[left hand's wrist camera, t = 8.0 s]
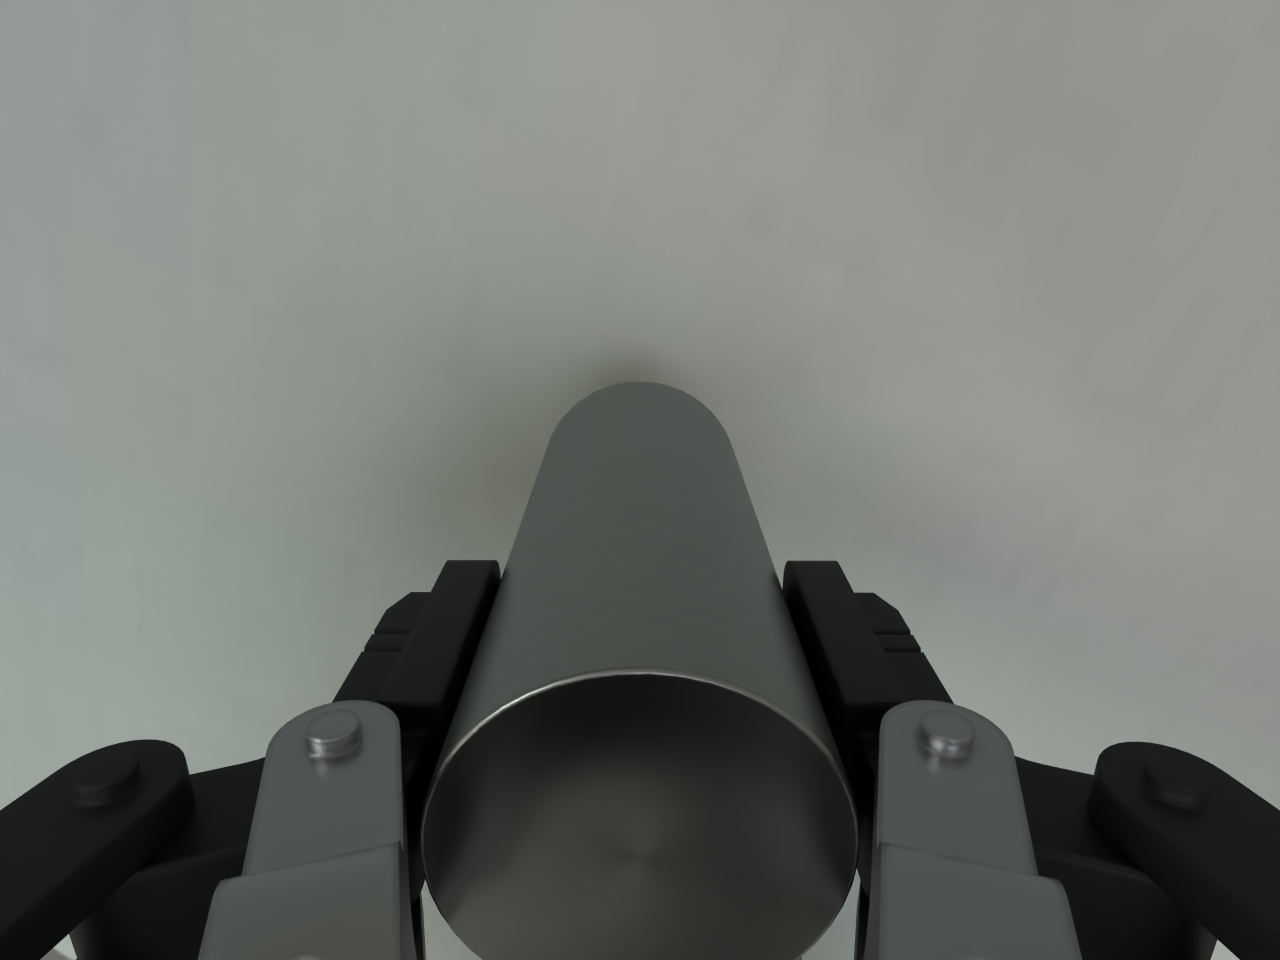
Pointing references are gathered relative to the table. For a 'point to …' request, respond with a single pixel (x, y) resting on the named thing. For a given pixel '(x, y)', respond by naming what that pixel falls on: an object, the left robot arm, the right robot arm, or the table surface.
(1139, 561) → the table surface
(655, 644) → the can
